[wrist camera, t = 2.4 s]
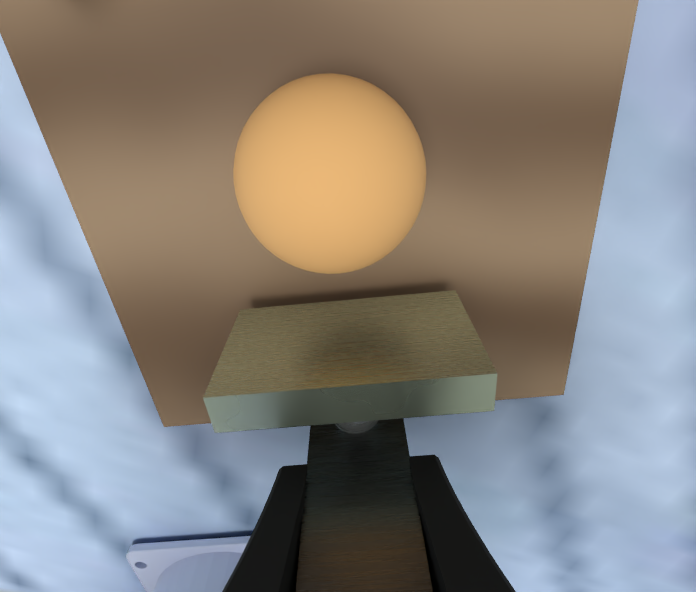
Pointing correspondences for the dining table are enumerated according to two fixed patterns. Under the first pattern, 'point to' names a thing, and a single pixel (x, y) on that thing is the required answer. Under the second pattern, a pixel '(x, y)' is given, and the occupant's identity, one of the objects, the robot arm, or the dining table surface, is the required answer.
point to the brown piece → (347, 59)
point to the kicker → (354, 419)
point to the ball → (329, 173)
